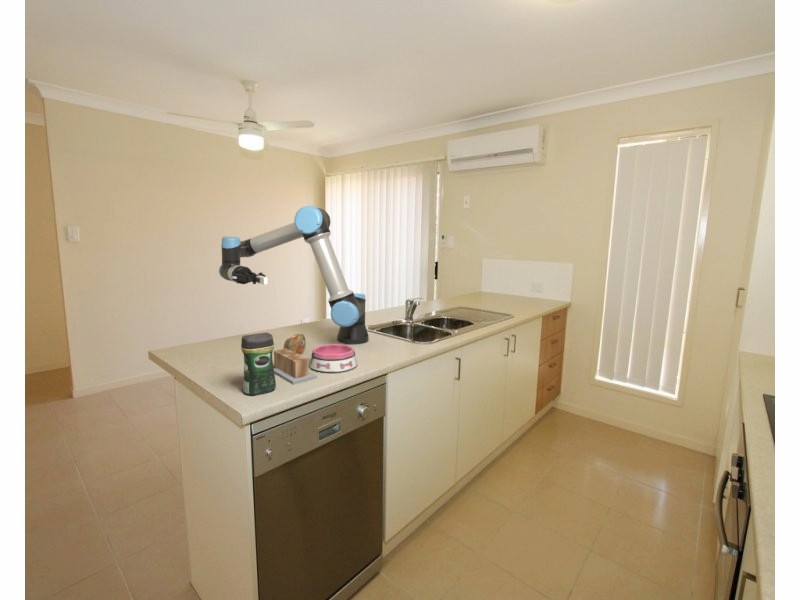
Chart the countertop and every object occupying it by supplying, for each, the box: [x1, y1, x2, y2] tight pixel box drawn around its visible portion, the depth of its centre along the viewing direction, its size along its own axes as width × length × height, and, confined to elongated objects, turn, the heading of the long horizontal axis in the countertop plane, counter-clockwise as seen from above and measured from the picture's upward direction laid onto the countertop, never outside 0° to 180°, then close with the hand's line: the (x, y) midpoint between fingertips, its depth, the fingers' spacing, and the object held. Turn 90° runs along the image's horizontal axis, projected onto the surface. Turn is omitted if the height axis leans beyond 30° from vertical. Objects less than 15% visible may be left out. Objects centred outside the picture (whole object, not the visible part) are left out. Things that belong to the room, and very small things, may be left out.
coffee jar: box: [240, 332, 277, 396], centre depth 120 cm, size 10×8×19 cm
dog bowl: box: [309, 343, 359, 374], centre depth 147 cm, size 18×19×7 cm
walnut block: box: [273, 348, 310, 379], centre depth 137 cm, size 5×6×16 cm
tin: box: [283, 333, 306, 355], centre depth 158 cm, size 15×3×8 cm, turn 168°
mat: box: [273, 367, 318, 385], centre depth 136 cm, size 9×16×1 cm, turn 44°
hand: (265, 281), depth 147 cm, fingers closed
